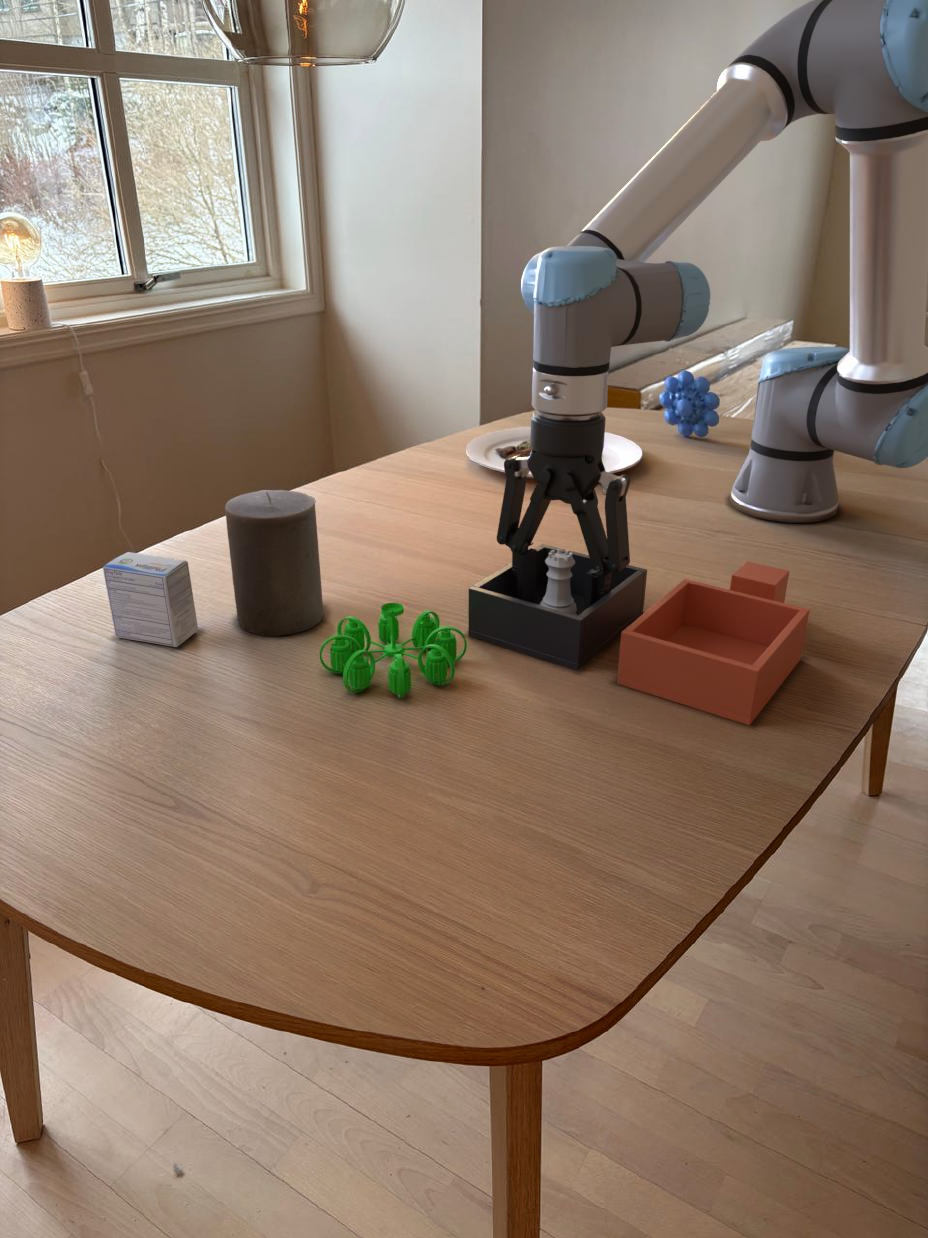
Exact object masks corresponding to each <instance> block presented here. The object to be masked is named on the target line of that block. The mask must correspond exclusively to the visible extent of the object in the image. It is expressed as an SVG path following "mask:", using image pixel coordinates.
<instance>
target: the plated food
mask: <svg viewBox="0 0 928 1238" xmlns="http://www.w3.org/2000/svg"><path fill="white" fill-rule="evenodd" d="M530 432H531V426H518V427H511V428H504V429H498V430H493V431H490V432H487V433H484V434H480V435H479V436H476V437H474V438H473V439H471V440H470V441H469V442H468V443H467V445H466V447H465V452H466V456H467V457H468V458H469V459H470V461H473V462H474V463H476V464H477V465H479V466H482V467H485V468H487V469H489V470H494V471H498V472H501V473H504V474H505V469H504V462H505V461H506V460H508V459H510V458H512V457H514V456H517V455H519V454H520V455H523V456H524V457H529V456H530V454H531V451H532V448H531V445H530ZM642 458H643V449H642V448H641V447H640V446H639V445H638V443H636V442H634V441H632V440H630V439H629V438H626V437H624V436H621V435H618V434H614V433H611V432H607V431H605V435H604V448H603V452H602V462H603V465H604V467H605V471H606V472H609V473H611V474H615V473H619V472H623V471H625V470H628V469H630V468H633V467H634V466H636V465H637V464H638V463H640V462H641V460H642ZM527 479H534V477H533V475H532V474H531V472H530V471H529V474H528V475H527ZM534 480H535V479H534Z"/></svg>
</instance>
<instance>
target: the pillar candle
mask: <svg viewBox="0 0 928 1238" xmlns="http://www.w3.org/2000/svg"><path fill="white" fill-rule="evenodd" d="M316 502H317V500H316V498H315V497H314V496H311V495H309V494H306V493H303V492H301V491H295V490H285V489H276V490H275V489H263V490H261V489H260V490H258V491H252V492H248V493H244V494H240V495H238V496H235V497H232V498H231V499H228V501H227V502H226V504H225V507H224V509H225V522H226V532H227V541H228V549H229V557H230V567H231V574H232V576H231V577H232V586H233V592H234V602H235V610H236V616H237V622H238V625H239V627H240V628H241V629H243V630H245V631H246V632H250V633H253V634H255V635H259V636H266V637H278V636H289V635H292V634H297V633H301V632H304V631H307V630H309V629H311V628H313V627H315V626H316V625H317V624H319V623H320V622H321V621H322V619H323V617H324V603H323V590H322V576H321V561H320V549H319V538H318V537H319V536H318V526H317V525H318V524H317V512H316V511H317V510H316Z"/></svg>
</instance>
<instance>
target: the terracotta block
mask: <svg viewBox="0 0 928 1238" xmlns="http://www.w3.org/2000/svg"><path fill="white" fill-rule="evenodd" d="M789 576H790V570H788V569H784V568H781V567H780V568H779V567H775V566H771V565H765V564H761V563H757V562H753V561H748V560H747V561H745V562H744V563H743V564H742V565H741V566H740V567H739V568H738V569H737V570H736V571H734V572H733V573H732V574H731V578H730V584H729V585H730V586H729V590H732V591H736V592H740V593H744V594H748V595H752V596H756V597H761V598H765V599H769V600H773V601H777V602H781V603H785V601H786V595H787V590H788V582H789V578H790V577H789Z"/></svg>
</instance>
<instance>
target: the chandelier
mask: <svg viewBox="0 0 928 1238" xmlns="http://www.w3.org/2000/svg"><path fill="white" fill-rule="evenodd" d="M404 607H405V606H404V605H403V604H402V603H399V602H387V603H384V604H382V605H381V607H380V613H381V614H380V615H379V617H378V618H379V619H378V623H377V625H378V626H377V627H378V628H377V629H378V638H379V641H380V642H382V643H386V645H384V644H381V643H379V642H376V641H374V640H372V638H371V634H370V631H369V629H368V628H367V626H366V624H364V622H363V621H362V620H361V619H359V618H357V617H355V616H353V615H350V616H345V617H344V618H342V619H341V620H339V622H338V624H337V628H336V630H337V634H335V635H332V636H330V637H328V638H326V639H325V640H324V641H323V642H322V644H321V646H320V649H319V660H320V663H321V665H322V666H323V668H324V669H325V670H327V671H328V672H330V673H332V674H337V675H342V683H343V687H344V689H346V690H347V691H349V692H351V693H353V694H359V693H361V692H363V691H364V690H365V689H367V688H369V687H370V685H371V683H372V679H373V677H374V674H375V671H376V663H377V662H380V661H381V660H382V659H384V658H389V659H394V660H393V661H392V662H391V663H389V669H388V673H387V675H388V690H390V692H391V693H393V694H396V695H397V697H398V699H403V698H404V699H405V696H406V693H408V692H410V690H411V689H412V688H411V687H412V670H411V668H410V663H409V662H408V661H405V659H404V658H403V656H406V657H409V658H412V659H414V660H417V664H418V668H419V670H420V672H421V674H422V676H423V677H424V678H425V679H426V680H427V681H428V682H430V683H431V684H433V685H437V686H445V685H448V683H450V682H452V680H453V679H454V677H455V674H456V665H455V663H458V662H459V661H460V660H461V659H462V658H463V657H464V655H465V654H466V652H467V647H468V643H467V639H466V636H465V635H464V633H463V632H462V631H461V630H460V629H459V628H457V627H454V626H449V625H447V626H441V625H440V624H441V623H440V617H439V615H438V614H437V612H435V611H432V610H424V611H423V612H421V613H420V614H419V615H418V617H417V618H416V620H415V622H414V623H413V627H412V631H411V637H410V638H409V639H407V640H405V641H404V642H402V643H396V642H397V641H398V640H399V637H400V622H399V620H398V617H399V616H402V615H403V614H404V613H405V612H404V611H405V609H404ZM430 614H431V615H432V616H433V617H432V616H431V615H430ZM346 620H347V621H348V622H347V623H345V624H344V622H345V621H346ZM343 624H344V627H343V628H344V629H343V631H342V626H343ZM454 632H456V633H457V634H458V635H460V636H461V637H462V639H463V649H462V650H461V652H460V653H459V654H458V656H457V653H458V652H457V651H458V649H457V647H458V645H457V643H458V642H457V639H456V634H455V633H454ZM410 642H412V645H413V646H412V647H404V646H405V645H408V644H409V643H410ZM329 643H330V648H329V657H330V666H328V665H327V664H326V663H325V661H324V660H323V657H322V655H323V650H324V648H326V646H327V645H328V644H329ZM371 644H372V645H375V646H377V647H380V648H383V649H374V650H370V648H371V646H372V645H371ZM429 649H430V650H429ZM413 650H414V651H415V650H419V652H418V655H417V656H415V655H413V654H410V653H407V652H406V651H413ZM424 652H426V657H425V660H424V661H423V654H424ZM378 653H382V655H381V656H380V657H378V658H376V659H375V656H374V655H373V654H378ZM364 654H367V656H368V657H366V656H364ZM423 662H424V663H423ZM448 665H449V667H450V675H449V678H448V679H447V677H448ZM446 679H447V680H446Z"/></svg>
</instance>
